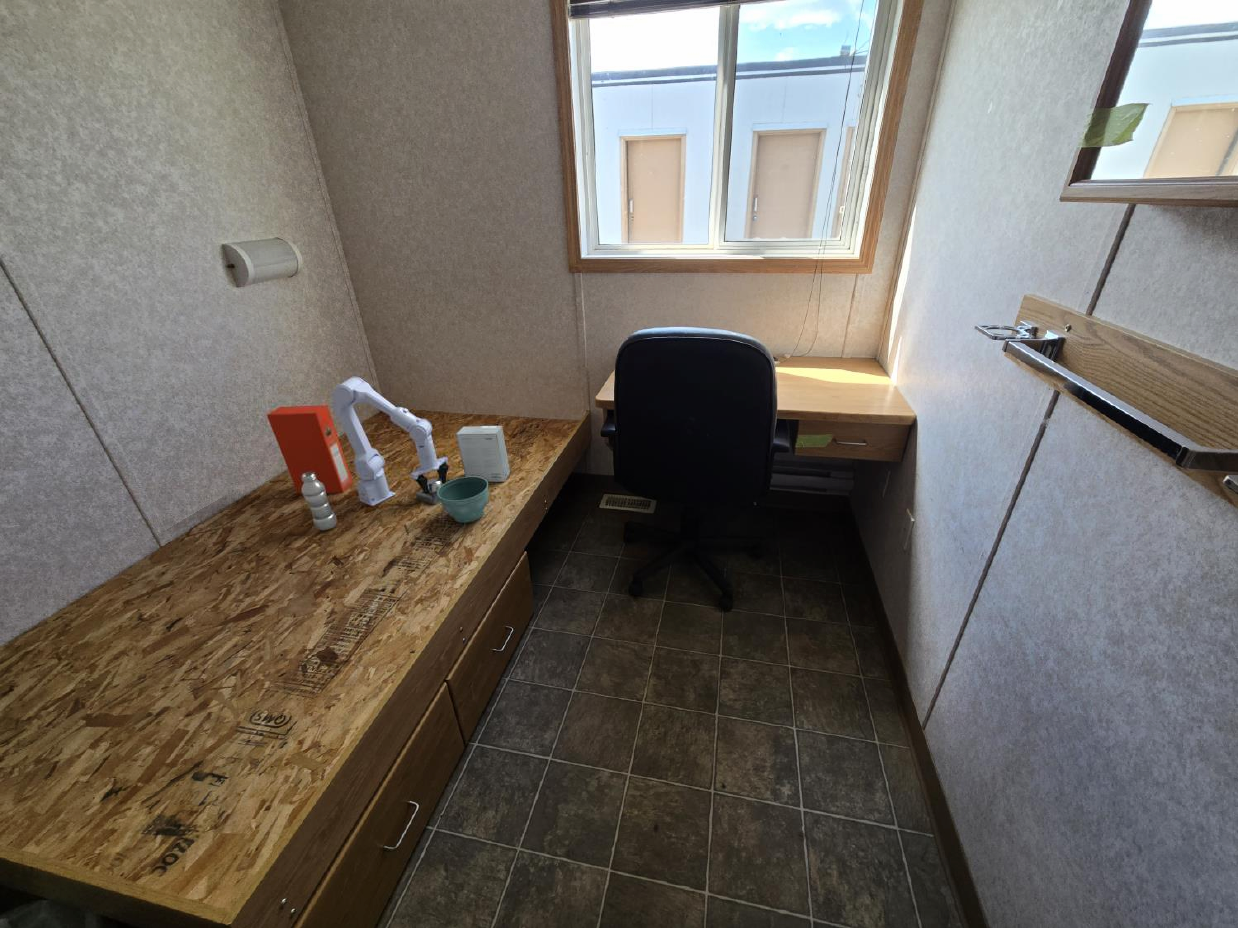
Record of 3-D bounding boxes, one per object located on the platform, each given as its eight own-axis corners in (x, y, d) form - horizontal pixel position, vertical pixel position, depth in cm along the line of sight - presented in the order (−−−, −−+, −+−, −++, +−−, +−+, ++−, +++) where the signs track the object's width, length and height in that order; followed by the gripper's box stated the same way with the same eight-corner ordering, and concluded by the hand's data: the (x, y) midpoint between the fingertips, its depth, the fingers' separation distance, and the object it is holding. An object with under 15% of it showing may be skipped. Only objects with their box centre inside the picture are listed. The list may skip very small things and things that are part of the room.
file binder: (342, 493, 187) (315, 413, 172) (297, 494, 187) (266, 414, 173) (353, 482, 194) (327, 404, 179) (309, 483, 195) (280, 406, 180)
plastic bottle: (329, 533, 163) (309, 480, 154) (311, 532, 164) (290, 478, 155) (343, 522, 168) (324, 470, 159) (325, 521, 170) (306, 469, 161)
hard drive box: (510, 472, 195) (503, 425, 186) (505, 482, 189) (496, 434, 180) (472, 472, 197) (463, 425, 188) (465, 481, 190) (455, 434, 181)
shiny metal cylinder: (427, 497, 181) (423, 483, 178) (437, 491, 185) (433, 476, 182) (437, 500, 179) (434, 485, 176) (447, 493, 183) (444, 479, 180)
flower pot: (433, 522, 166) (426, 494, 161) (467, 499, 179) (461, 472, 174) (470, 533, 159) (463, 505, 154) (502, 509, 172) (498, 481, 167)
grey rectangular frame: (434, 505, 176) (433, 500, 175) (416, 498, 181) (415, 493, 180) (456, 492, 183) (455, 487, 183) (438, 485, 188) (437, 481, 187)
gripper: (417, 465, 167) (426, 499, 173) (450, 448, 178) (458, 481, 184) (403, 460, 171) (412, 495, 177) (437, 444, 182) (445, 477, 188)
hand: (435, 488), depth 181 cm, fingers open, 7 cm apart
